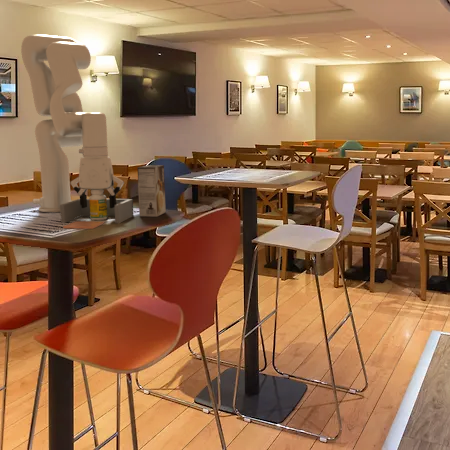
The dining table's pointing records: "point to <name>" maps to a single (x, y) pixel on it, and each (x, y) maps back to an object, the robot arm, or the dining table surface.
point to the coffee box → (151, 190)
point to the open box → (75, 210)
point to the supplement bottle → (98, 205)
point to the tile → (84, 224)
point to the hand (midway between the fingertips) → (98, 207)
